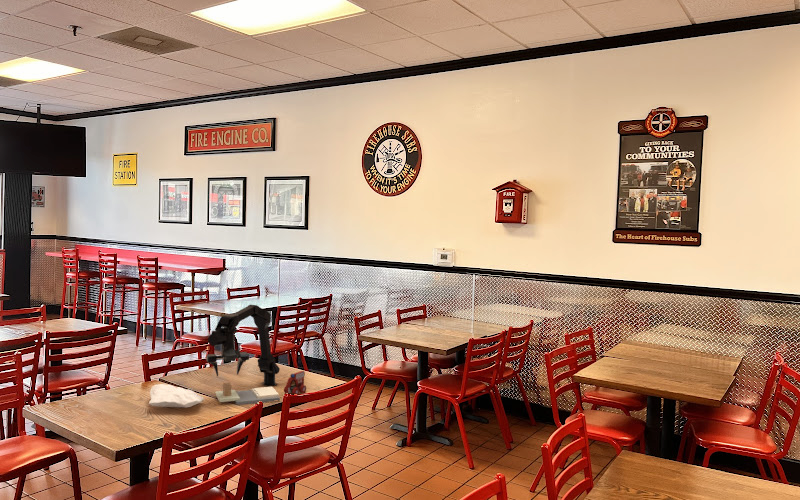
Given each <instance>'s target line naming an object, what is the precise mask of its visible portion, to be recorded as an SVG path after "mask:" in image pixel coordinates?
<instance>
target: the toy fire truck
mask: <svg viewBox="0 0 800 500" xmlns="http://www.w3.org/2000/svg"><path fill="white" fill-rule="evenodd" d="M305 373H306V371H304V370H301V371H298V372H295V373H291V374H290V375H289V377H288V379H287V382H286V385H285V386H284V387H283V393H284V392H285V394H286V393H289V394H292V395H293V394H298V395H299V394H304V393H306V392H307V386H306V385H305V376H306V375H305Z"/></svg>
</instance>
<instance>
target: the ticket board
mask: <svg viewBox="0 0 800 500" xmlns="http://www.w3.org/2000/svg"><path fill="white" fill-rule="evenodd" d="M235 391H236V393H237V394H238V396H239V397H240V400H238V401H233V402H234V403H235V405H236V406H243V405H252V404H258V403H257V402H259V401H262V402H263V403H262V404H264V402H265V403H270V402H269V401H274V400H280V401H281V398H280V394H279V392H278V391H276V389H275V388H274V387H273V386H264V387H262V386H261V387H253V388H251V389H245V390H235Z"/></svg>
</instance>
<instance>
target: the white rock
mask: <svg viewBox="0 0 800 500" xmlns="http://www.w3.org/2000/svg"><path fill="white" fill-rule="evenodd" d="M150 388H151V389H150V390H149V396H150V400H149V402H148V404H149V406H152V407H156V408H158V407H159V408H160V407H161V408H167V407H169V408H191V407H192V406H196V405H198V404H202V402H203V401H204V400H205V398H204V397H203V396H202V395H199V394H197V393H196V392H195V391H194V390H191V389H186V388H183V387H179V386H177V387H175V386H173V385H172V384H164V383H159V384H155V385H153V386H151V387H150Z"/></svg>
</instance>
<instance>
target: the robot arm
mask: <svg viewBox="0 0 800 500" xmlns="http://www.w3.org/2000/svg"><path fill="white" fill-rule="evenodd" d="M271 315H272V314H271V313H270V311H268V310H266V309H264V308H263V307H262V308H261V307H260V306H259V305H257V304H248V305H247V306H245V307H243V308H242V309H239V310H237V311H236V312H234V313H227V314H224V315H222V316H220V317H219V318H220V319H219V320H218V322H217V325H216V326H215V328H214V330H212V331H211V333H210V334H209V336H208V338H207V342H208V344H209V345H210V346H211V347H216V346H219V345H221V355H216V353H211V354H210V353H209V354H206V357H205V360H206V363H209V364H210V365H212V366H213V368H214V371H215V374H216V377H218V376H219V368H218V361H219V360H224V361H225V363H226V362H235V361H236V359H237V363H236V375H239V374H240V370H241V369H242V368H241V367H242V365H243V364H244V363H246V361H249V360H250V355H249V354H248V352H246V351H240V349H235V333H237V332H238V329H237V328H236V327H237V326H239V324H240V322H241V321H244V320H245V319H248V318H249V317H251V318H253V322H254V325H255V326H256V328H257V329H258V337H259V339H258V340H259V347H260V348H259V349H260V356H259V358H258V359H257V367H258V369H259V372H260V373H263V381H262V382H261V384H262V385H263V386H264V387H271V386H270V385H273V386H277V385H278V384H277V382H276V375H278V374H279V373H280V369H281V368H280V367H279V365H277V363H276V359H275V358H276V357H275V356H274V355H273V353H272V349H271V340H270V333H269V330H270V329H269V326H270V324H271V321H272V320H271V317H272V316H271Z"/></svg>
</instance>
